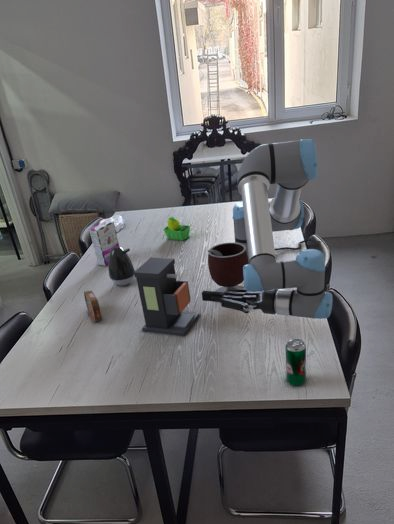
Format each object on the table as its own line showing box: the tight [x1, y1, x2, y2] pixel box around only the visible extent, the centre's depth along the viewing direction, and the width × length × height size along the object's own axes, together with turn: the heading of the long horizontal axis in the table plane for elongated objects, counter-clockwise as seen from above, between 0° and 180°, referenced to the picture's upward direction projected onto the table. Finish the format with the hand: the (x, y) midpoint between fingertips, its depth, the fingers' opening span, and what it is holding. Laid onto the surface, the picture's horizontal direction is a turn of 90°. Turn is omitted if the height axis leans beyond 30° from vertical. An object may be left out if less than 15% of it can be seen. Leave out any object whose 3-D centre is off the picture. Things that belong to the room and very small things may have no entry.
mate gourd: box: [207, 242, 248, 292], centre depth 168 cm, size 16×14×20 cm
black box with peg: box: [134, 257, 200, 336], centre depth 156 cm, size 15×13×21 cm
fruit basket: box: [162, 216, 191, 242], centre depth 227 cm, size 11×9×11 cm
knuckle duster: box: [97, 215, 127, 233], centre depth 254 cm, size 3×18×15 cm
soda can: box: [285, 337, 307, 387], centre depth 124 cm, size 5×5×12 cm
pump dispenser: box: [107, 246, 136, 287], centre depth 190 cm, size 10×10×15 cm
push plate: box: [174, 283, 191, 314], centre depth 154 cm, size 1×8×7 cm, turn 157°
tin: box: [83, 290, 102, 323], centre depth 171 cm, size 15×3×8 cm, turn 23°
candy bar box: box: [88, 221, 120, 267], centre depth 211 cm, size 11×5×16 cm, turn 148°
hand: (203, 295), depth 151 cm, fingers closed
